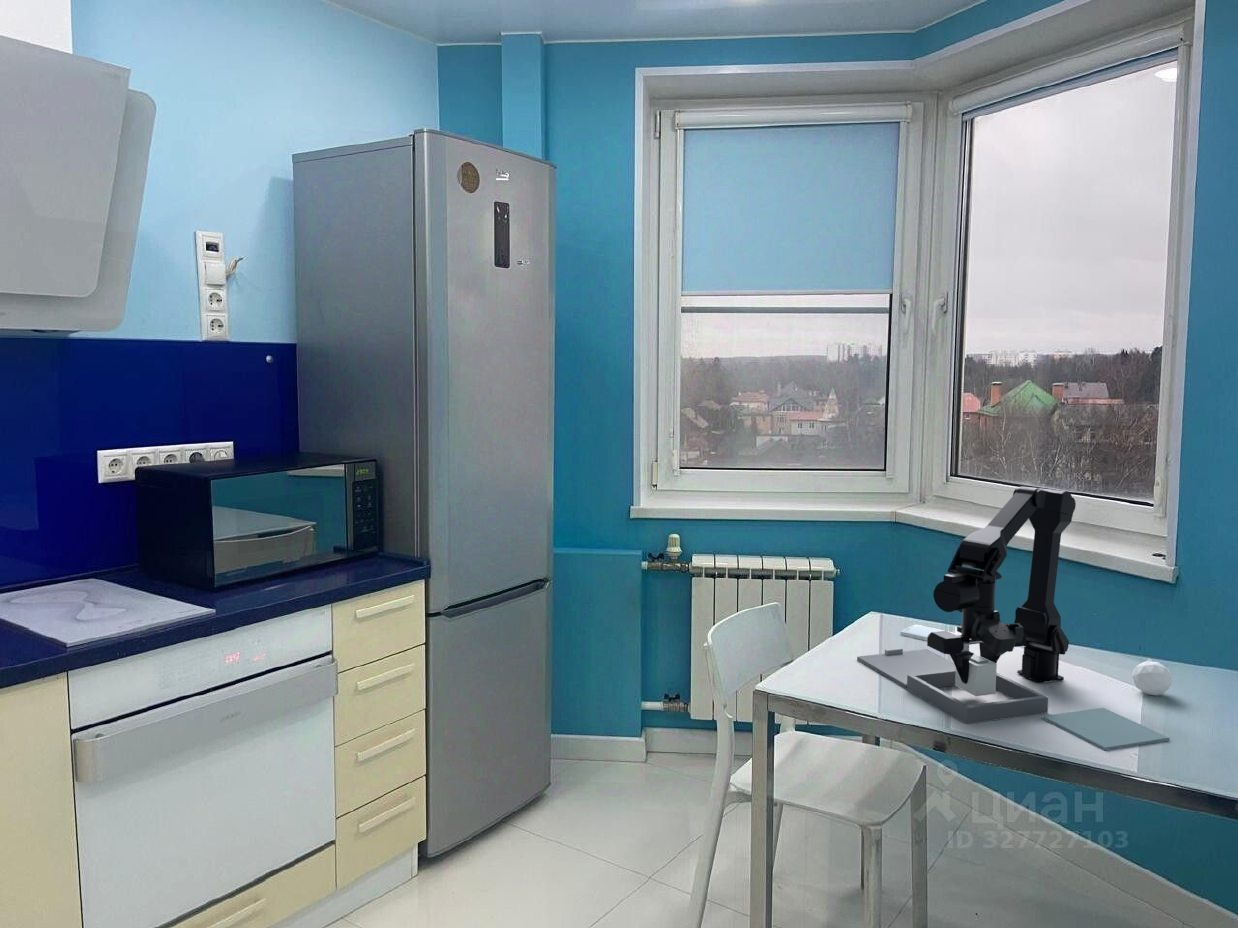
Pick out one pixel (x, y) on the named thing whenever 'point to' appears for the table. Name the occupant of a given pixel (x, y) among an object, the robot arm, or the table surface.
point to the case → (933, 670)
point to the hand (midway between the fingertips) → (975, 681)
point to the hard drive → (920, 632)
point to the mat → (1105, 728)
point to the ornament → (1152, 678)
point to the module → (979, 677)
